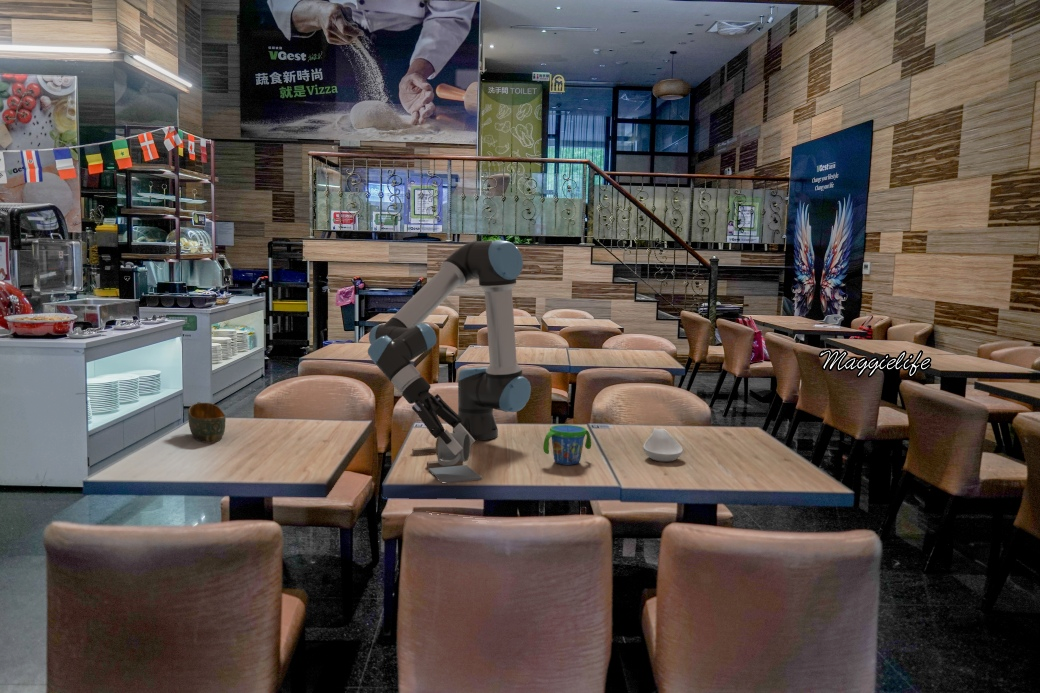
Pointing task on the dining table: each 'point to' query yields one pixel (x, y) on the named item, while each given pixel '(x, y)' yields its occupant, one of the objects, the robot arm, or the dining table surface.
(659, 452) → the spoon rest
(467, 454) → the ceramic mug
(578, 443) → the snack cup
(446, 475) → the slate mat
